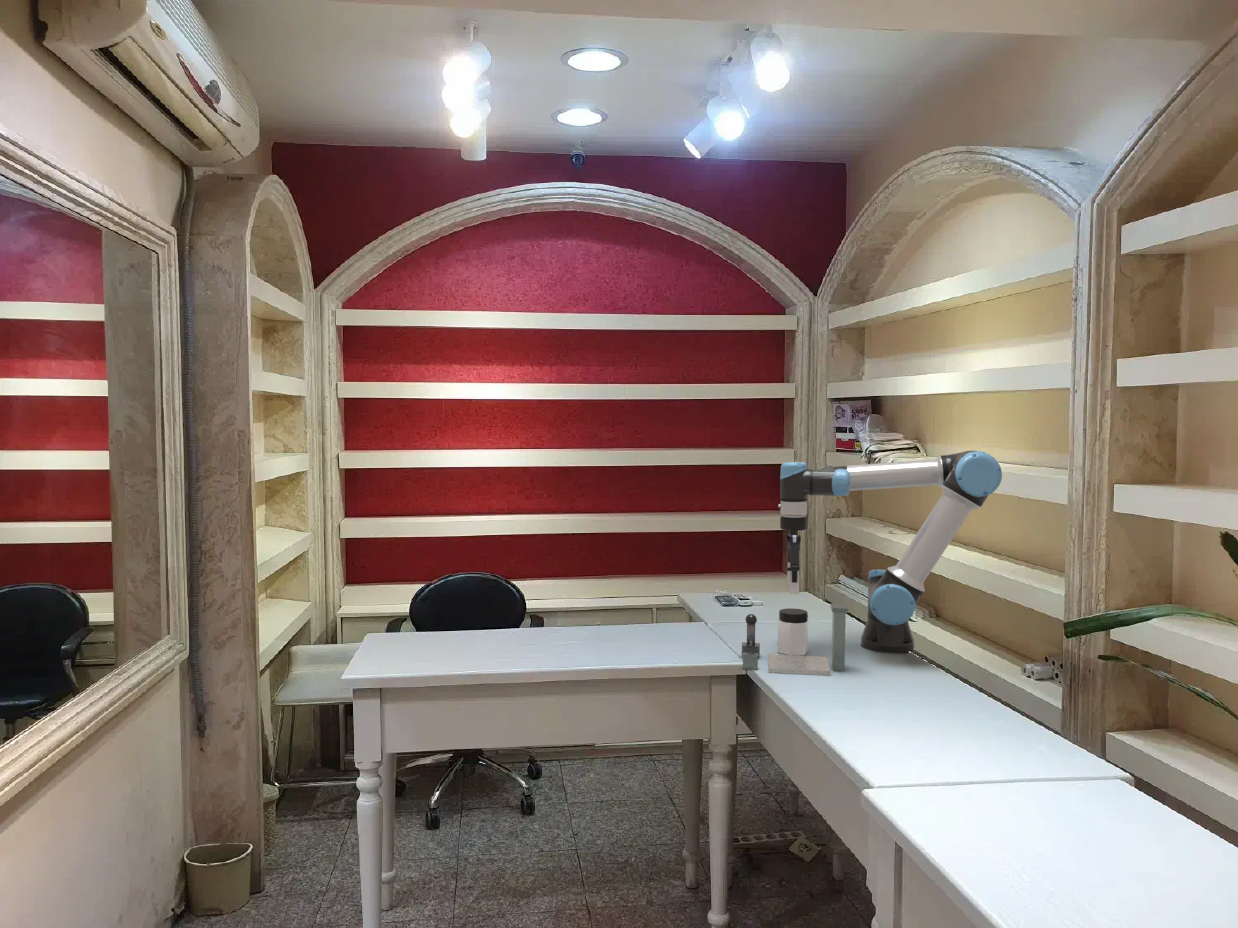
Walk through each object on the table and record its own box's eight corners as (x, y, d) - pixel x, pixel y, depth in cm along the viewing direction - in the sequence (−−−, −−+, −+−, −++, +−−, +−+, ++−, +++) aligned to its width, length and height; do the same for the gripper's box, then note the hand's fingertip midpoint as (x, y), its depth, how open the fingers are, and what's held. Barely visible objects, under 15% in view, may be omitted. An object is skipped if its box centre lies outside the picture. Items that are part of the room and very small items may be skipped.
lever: (759, 651, 251) (760, 612, 250) (759, 654, 247) (760, 616, 246) (742, 650, 252) (742, 612, 251) (741, 654, 248) (742, 615, 247)
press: (842, 658, 247) (843, 598, 246) (848, 676, 230) (849, 611, 230) (743, 654, 252) (744, 594, 251) (742, 671, 235) (743, 607, 234)
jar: (814, 652, 253) (814, 611, 253) (795, 657, 248) (796, 615, 248) (789, 646, 260) (790, 606, 260) (771, 651, 255) (772, 610, 255)
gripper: (779, 511, 265) (778, 580, 266) (781, 520, 240) (781, 597, 242) (804, 511, 264) (804, 581, 265) (809, 520, 239) (809, 597, 240)
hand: (793, 589), depth 253 cm, fingers open, 13 cm apart
